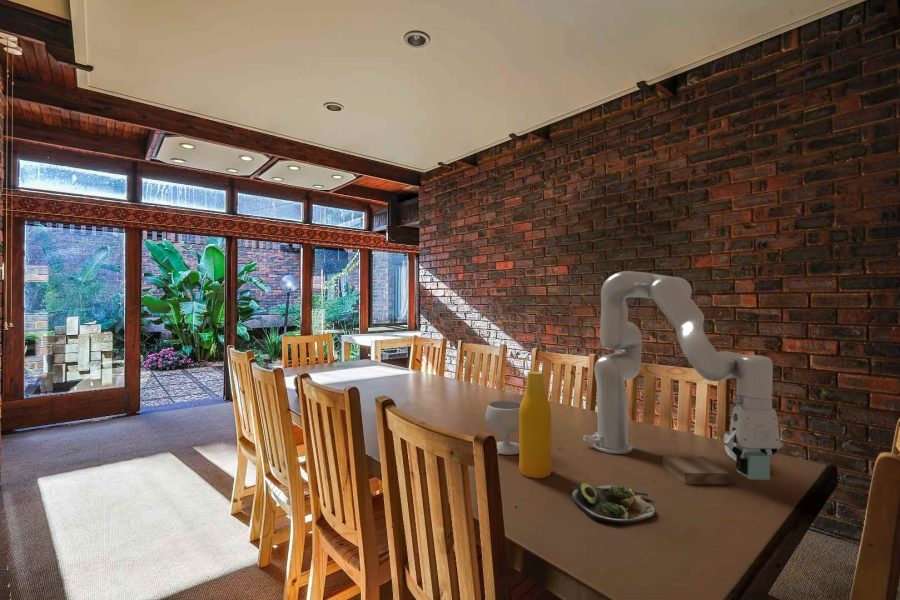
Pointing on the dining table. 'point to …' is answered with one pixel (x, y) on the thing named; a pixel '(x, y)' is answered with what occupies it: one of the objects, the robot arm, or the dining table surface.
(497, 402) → the chalice
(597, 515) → the salad plate
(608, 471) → the dining table surface
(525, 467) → the beer bottle
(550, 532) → the dining table surface
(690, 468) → the walnut base
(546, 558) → the dining table surface
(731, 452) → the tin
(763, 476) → the teal block
